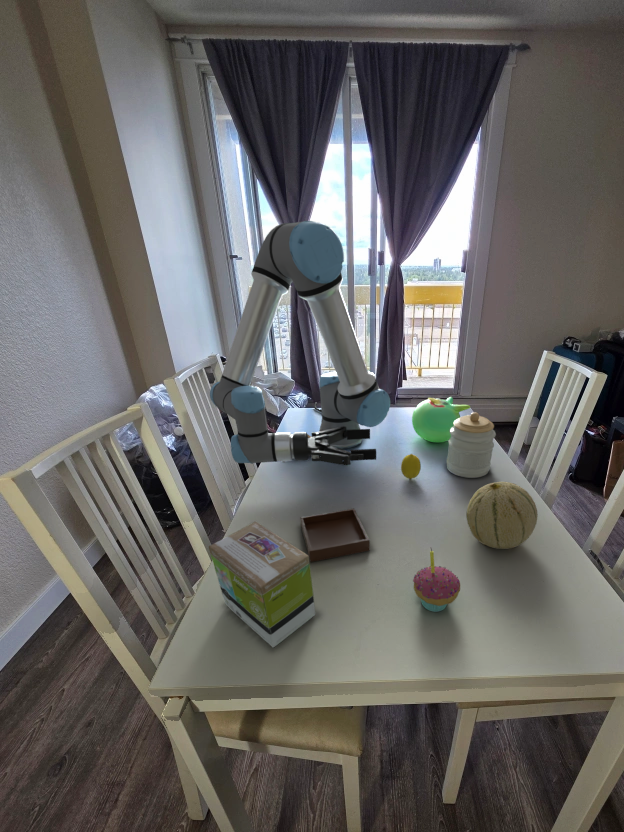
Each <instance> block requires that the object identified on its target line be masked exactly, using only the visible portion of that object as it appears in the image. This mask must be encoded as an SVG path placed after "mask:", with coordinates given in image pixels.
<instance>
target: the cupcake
mask: <svg viewBox="0 0 624 832" xmlns="http://www.w3.org/2000/svg"><path fill="white" fill-rule="evenodd" d="M429 558H430V560H429V562H430V566H428V567H427V566H426V567H423V568H421V569H420V570H418V571H417V572H416V574H414V575H413V579H412V582H413V590H414V593H415V595H416V596H417V597H418V598H419V599H420V603H421V605H422V606H423V607H424V608H425V610H428V611H430V612H433V613H434V612H437V613H438V612H441V611H444V610H445V609H446V607H447V606H448V605H450V604H452V603H453V602H455V601H456V599H457V598H458V597H459V593H460V592H461V582H460V579H459V578H458V577H459V576H457V575H456V574H455V572H452V570H450V569H448V568H447V567H445V566H444V567H443V566H436V565H435V552H434V551H433V547H430V551H429Z"/></svg>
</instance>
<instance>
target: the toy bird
mask: <svg viewBox="0 0 624 832" xmlns="http://www.w3.org/2000/svg"><path fill="white" fill-rule="evenodd" d="M470 408H471V405H469V404H454V398H453V397H452V396H449V397H448V398H446V399H442V398H434V397H427V399H425V400H422V401H420V403H418V404H417V406H416V407H415V408H414V410H413V412H412V416H411V424H412V428H413V430H414V432H415V433H416V434H417V436H419V437H420V438H421V439H422V440H425V441H427V442H431V443H437V444H438V443H439V444H440V443H444V442H449V439H450V438H451V434H450V429H451V428H452V427H453V426H454V424H453V423H454V421H455V420H456V419H459V418H460V417H461V414H460V413H461V412H464V411H466V410H469V409H470Z"/></svg>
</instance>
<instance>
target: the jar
mask: <svg viewBox="0 0 624 832" xmlns="http://www.w3.org/2000/svg"><path fill="white" fill-rule="evenodd" d="M453 424H454V426H453V427H452V428H451V429H450V434H451V438H450V439H449V440H448V451H447V458H446V469H447V470H448V471H449V472H450V473H451V474H453V475H454V476H458V477H462V478H469V479H476V478H482V477H484V476H486V475H487V474H488V473H489V471H490V469H491V466H492V455H493V449H494V447H495V444H494V443H495V442H494V439H495V438H496V436H497V433H496V430H494V428H495V424H494V423H493V422H492V421H490V420H489V419H488V418H487V417H485V416H482V415H480V414H479V413H478V412H476V411H473V412H471V413H470V414H467V415H462V416H460V418H459V419H456V420H455V421H454V423H453Z"/></svg>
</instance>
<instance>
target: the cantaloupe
mask: <svg viewBox="0 0 624 832" xmlns="http://www.w3.org/2000/svg"><path fill="white" fill-rule="evenodd" d="M466 521H467V525H468V528H469V531H470V532H471V534H472V536H473V537H474V538H475V539H476V540H477V541H479V543H481V544H483V545H485V546H487V547H489V548H491V549H492V548H493V549H497V550H499V549H501V550H502V549H503V550H504V549H505V550H507V549H513V548H516V547H519V546H520V545H522V544H524V543H525V542H526V541H527V540H528V539H529V538H530V536H531V535H533V533H534V531H535V529H536V526H537V522H538V508H537V504H536V502H535V501H534V498H533V497H532V496H531V494H530V493H529V492H528V491H527V490H526V489H525V488H523V487H521V486H520V485H518V484H515V483H513V482H509V481H497V482H490V483H488V484H485V485H483V486H481V487H480V488H478V489H476V491H475V492H474V493H473V495H472V496H471V498H470V500H469V502H468V504H467V508H466Z"/></svg>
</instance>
